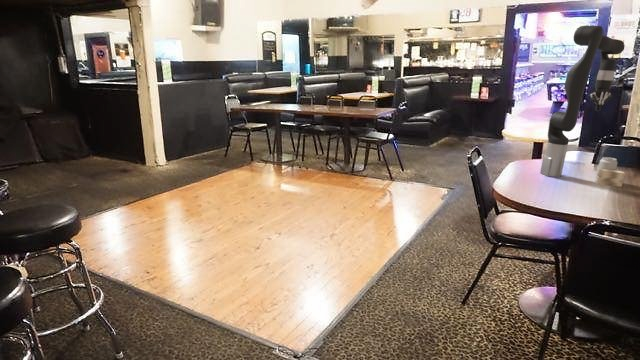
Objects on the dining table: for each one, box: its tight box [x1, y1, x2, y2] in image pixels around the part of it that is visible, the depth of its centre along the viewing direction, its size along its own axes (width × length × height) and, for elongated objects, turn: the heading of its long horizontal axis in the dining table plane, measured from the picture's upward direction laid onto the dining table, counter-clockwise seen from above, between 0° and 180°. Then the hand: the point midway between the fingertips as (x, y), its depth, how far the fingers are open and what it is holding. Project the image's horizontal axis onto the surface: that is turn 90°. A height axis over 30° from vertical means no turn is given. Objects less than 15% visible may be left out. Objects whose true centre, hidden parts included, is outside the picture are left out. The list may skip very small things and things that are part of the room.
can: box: [595, 156, 618, 180], centre depth 212 cm, size 8×8×12 cm
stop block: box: [595, 169, 626, 187], centre depth 207 cm, size 10×4×7 cm, turn 71°
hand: (597, 111), depth 232 cm, fingers closed
